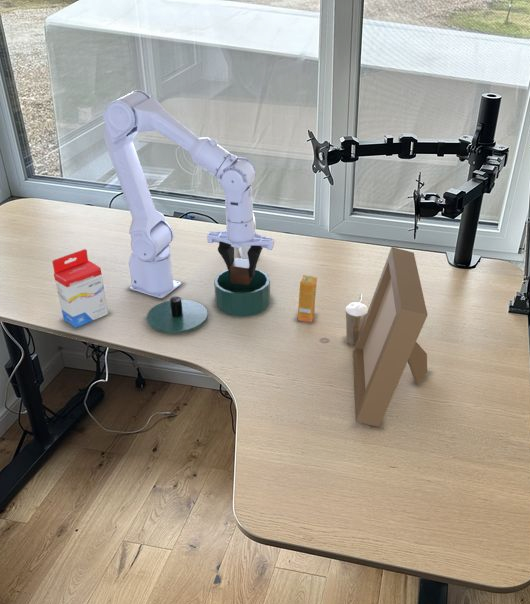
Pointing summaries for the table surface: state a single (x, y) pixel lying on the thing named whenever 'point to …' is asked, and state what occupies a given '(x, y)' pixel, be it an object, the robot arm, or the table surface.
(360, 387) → the photo frame
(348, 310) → the milkshake
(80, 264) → the ink box
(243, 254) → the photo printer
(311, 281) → the supplement box
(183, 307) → the lid
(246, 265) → the block
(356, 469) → the table surface
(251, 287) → the tin
